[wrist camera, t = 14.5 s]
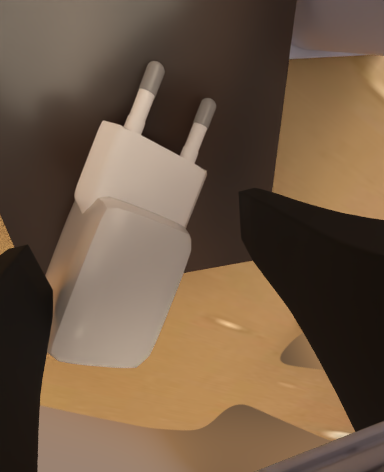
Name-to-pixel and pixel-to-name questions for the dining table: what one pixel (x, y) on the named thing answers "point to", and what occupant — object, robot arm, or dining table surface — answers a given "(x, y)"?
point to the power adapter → (125, 239)
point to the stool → (122, 99)
